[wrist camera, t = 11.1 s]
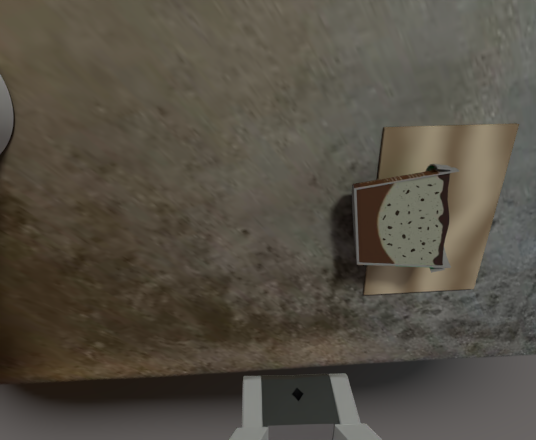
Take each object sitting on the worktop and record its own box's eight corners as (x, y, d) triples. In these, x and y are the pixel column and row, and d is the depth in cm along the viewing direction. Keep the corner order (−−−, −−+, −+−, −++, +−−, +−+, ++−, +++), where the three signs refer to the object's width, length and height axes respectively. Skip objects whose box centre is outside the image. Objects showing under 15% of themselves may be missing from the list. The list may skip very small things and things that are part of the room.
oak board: (363, 293, 52) (364, 294, 52) (383, 127, 42) (384, 128, 42) (472, 287, 53) (473, 288, 53) (516, 123, 43) (519, 124, 43)
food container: (353, 247, 50) (436, 242, 48) (357, 275, 45) (450, 271, 43) (349, 154, 44) (442, 146, 43) (353, 174, 39) (460, 165, 37)
